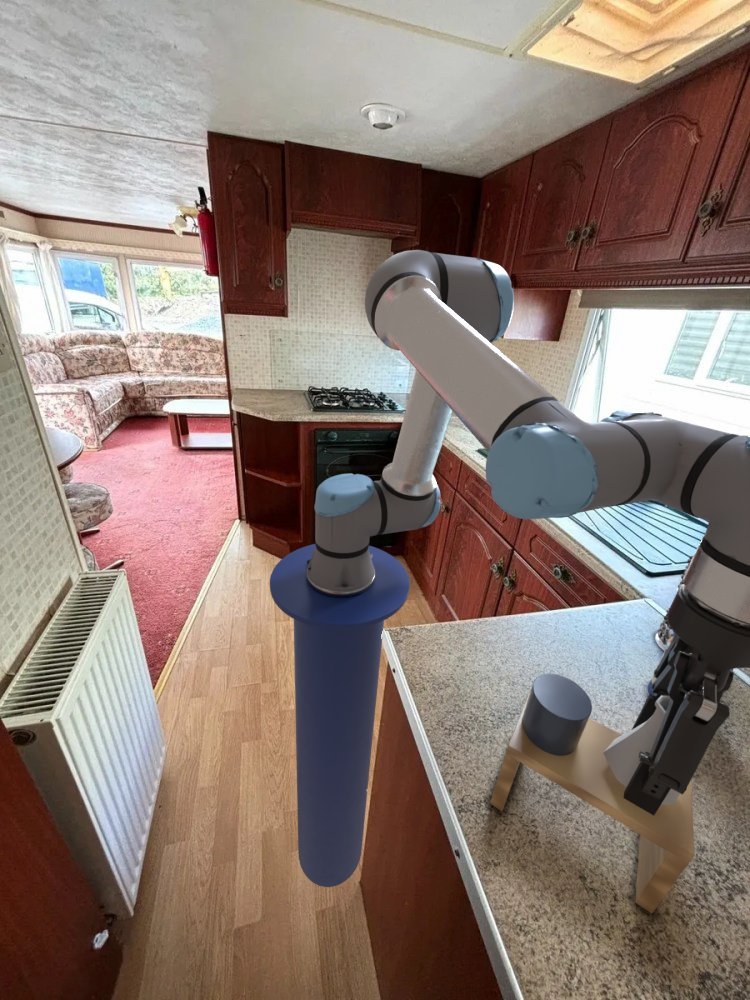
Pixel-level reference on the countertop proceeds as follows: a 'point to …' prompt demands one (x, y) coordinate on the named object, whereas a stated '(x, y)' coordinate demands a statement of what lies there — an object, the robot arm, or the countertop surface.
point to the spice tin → (556, 714)
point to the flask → (637, 748)
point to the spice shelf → (610, 804)
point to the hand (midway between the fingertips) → (641, 769)
